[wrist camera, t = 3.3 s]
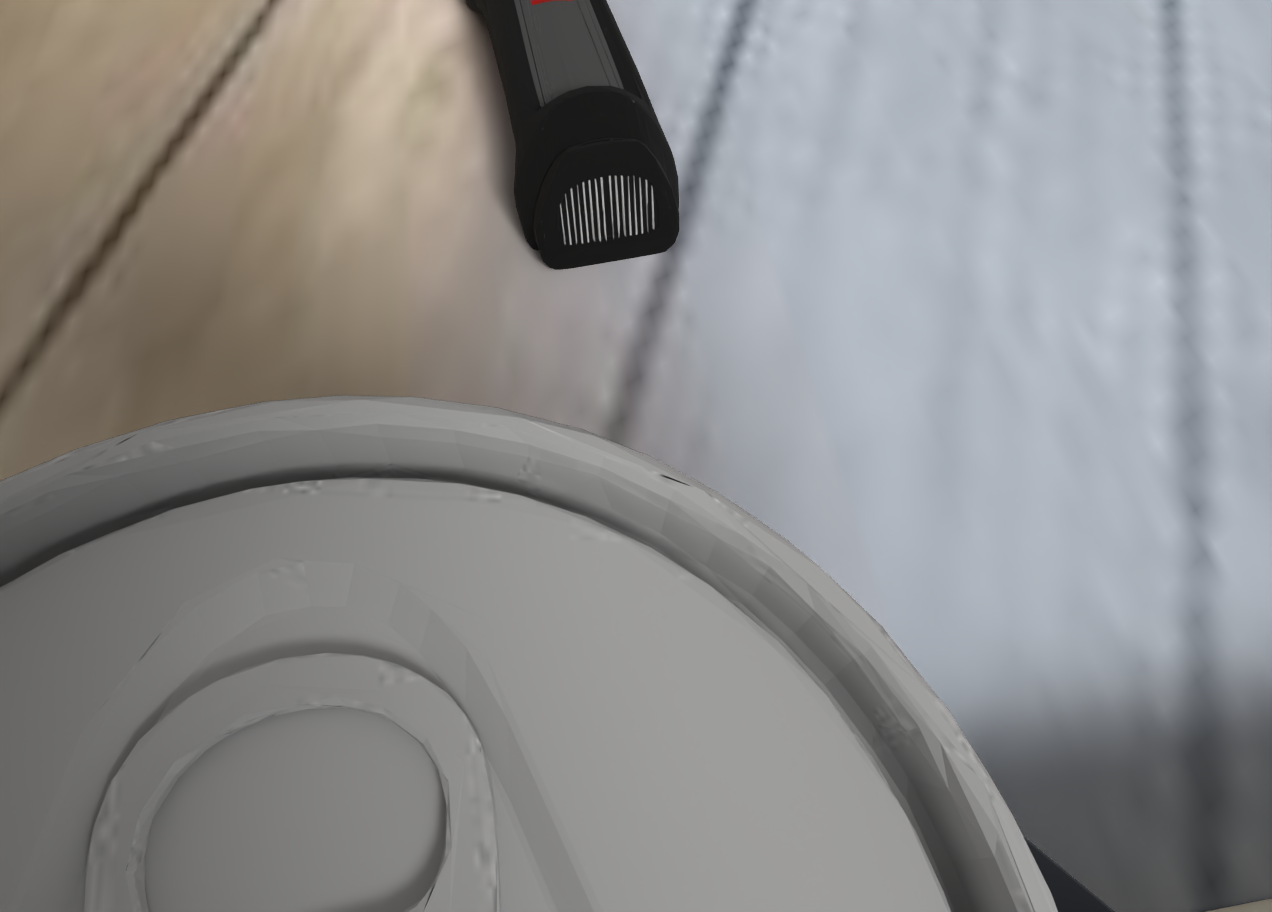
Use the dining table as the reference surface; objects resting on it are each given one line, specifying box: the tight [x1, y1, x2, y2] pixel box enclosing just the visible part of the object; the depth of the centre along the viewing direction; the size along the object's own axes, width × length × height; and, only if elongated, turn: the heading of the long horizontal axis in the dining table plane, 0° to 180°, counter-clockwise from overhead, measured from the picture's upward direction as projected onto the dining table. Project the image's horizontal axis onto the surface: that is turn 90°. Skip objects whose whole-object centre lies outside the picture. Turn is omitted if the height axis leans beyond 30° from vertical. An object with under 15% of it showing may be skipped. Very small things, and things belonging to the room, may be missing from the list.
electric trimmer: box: [466, 0, 679, 269], centre depth 22 cm, size 4×16×3 cm, turn 14°
